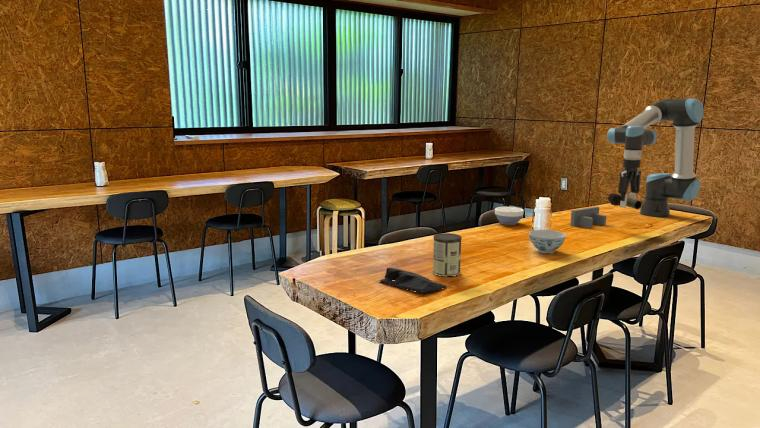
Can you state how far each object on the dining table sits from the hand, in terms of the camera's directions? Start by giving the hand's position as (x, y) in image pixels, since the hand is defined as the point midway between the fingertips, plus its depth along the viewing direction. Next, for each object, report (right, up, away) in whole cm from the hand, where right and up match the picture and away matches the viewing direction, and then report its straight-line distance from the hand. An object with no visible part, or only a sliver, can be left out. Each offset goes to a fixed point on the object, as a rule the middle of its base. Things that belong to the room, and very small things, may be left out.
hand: (627, 206), depth 265 cm
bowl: (-52, -9, +21) cm, 57 cm away
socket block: (-11, -9, +19) cm, 23 cm away
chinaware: (-48, -20, -31) cm, 61 cm away
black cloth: (-108, -29, -73) cm, 133 cm away
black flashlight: (-2, 0, +2) cm, 3 cm away
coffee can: (-94, -26, -60) cm, 115 cm away
